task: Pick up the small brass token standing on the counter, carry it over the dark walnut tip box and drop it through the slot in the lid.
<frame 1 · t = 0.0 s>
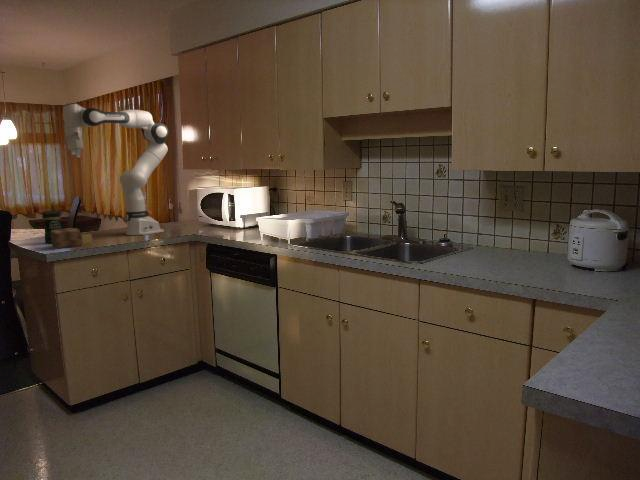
hand: (76, 157, 288), 48 cm above the worktop, tool pointing down, fingers open, 8 cm apart
coffee jar: (54, 242, 292), on the worktop
token: (87, 243, 286), on the worktop
tip box: (67, 246, 277), on the worktop
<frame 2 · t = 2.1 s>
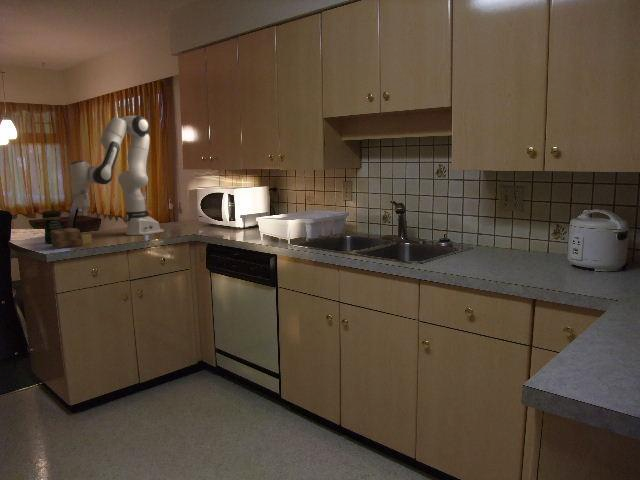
hand: (83, 214, 283), 16 cm above the worktop, tool pointing down, fingers open, 8 cm apart
nothing on the worktop moved.
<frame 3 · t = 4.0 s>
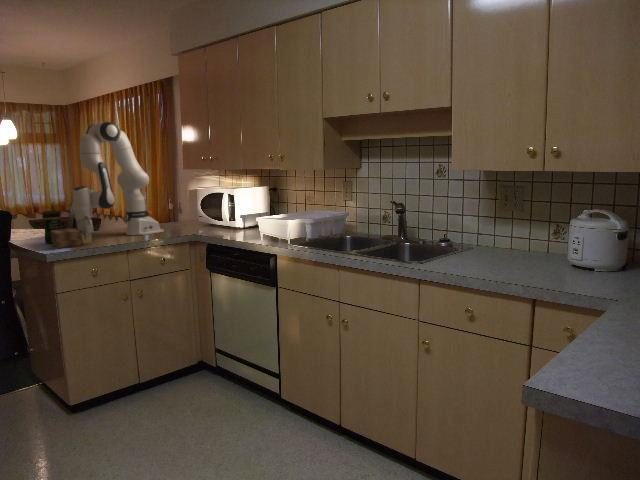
hand: (86, 239, 286), 2 cm above the worktop, tool pointing down, fingers closed on token, 2 cm apart
token: (86, 242, 286), on the worktop, touching gripper
everything else where it was.
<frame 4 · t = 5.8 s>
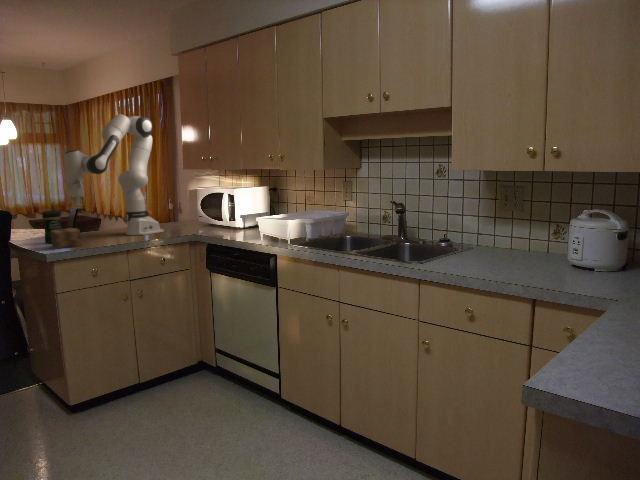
hand: (77, 205, 280), 22 cm above the worktop, tool pointing down, fingers closed on token, 2 cm apart
token: (77, 208, 280), point 20 cm above the worktop, touching gripper
everything else where it was.
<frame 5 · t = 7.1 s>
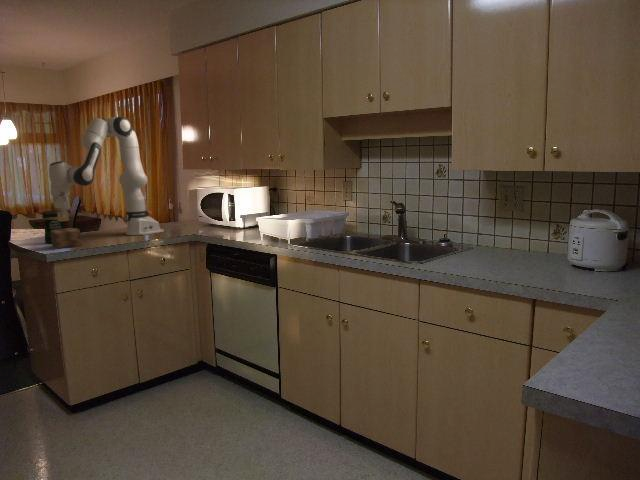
hand: (63, 217, 274), 16 cm above the worktop, tool pointing down, fingers closed on token, 2 cm apart
token: (63, 220, 275), point 14 cm above the worktop, touching gripper
everything else where it was.
when the fingers open (12 cm above the worktop, at t = 7.8 s): token drops 9 cm, resting on tip box.
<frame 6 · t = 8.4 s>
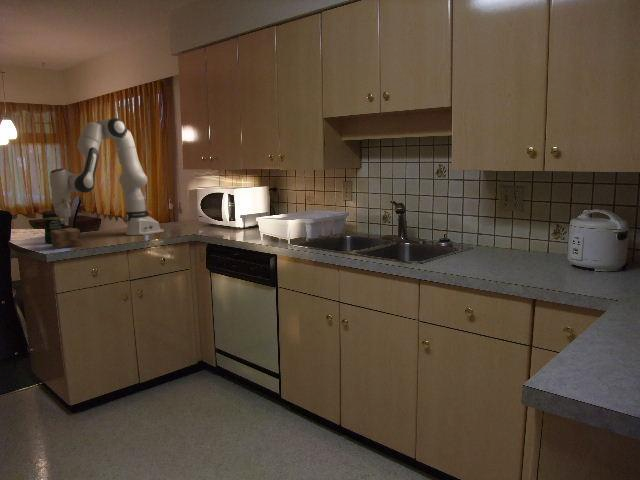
hand: (64, 224, 275), 12 cm above the worktop, tool pointing down, fingers open, 8 cm apart
token: (66, 244, 277), point 1 cm above the worktop, touching tip box
everything else where it was.
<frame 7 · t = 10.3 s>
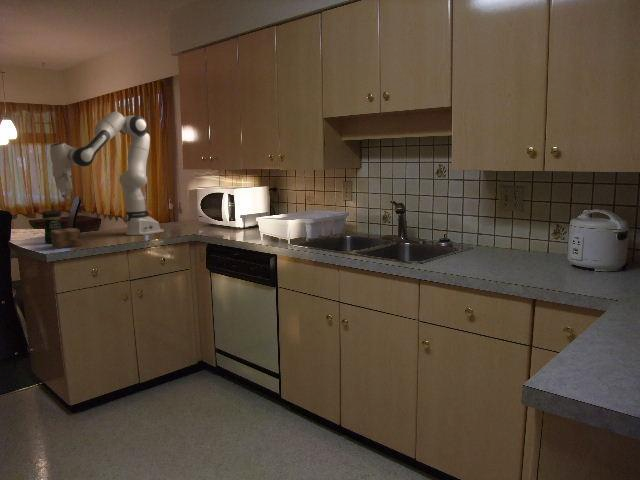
hand: (66, 198, 279), 26 cm above the worktop, tool pointing down, fingers open, 8 cm apart
nothing on the worktop moved.
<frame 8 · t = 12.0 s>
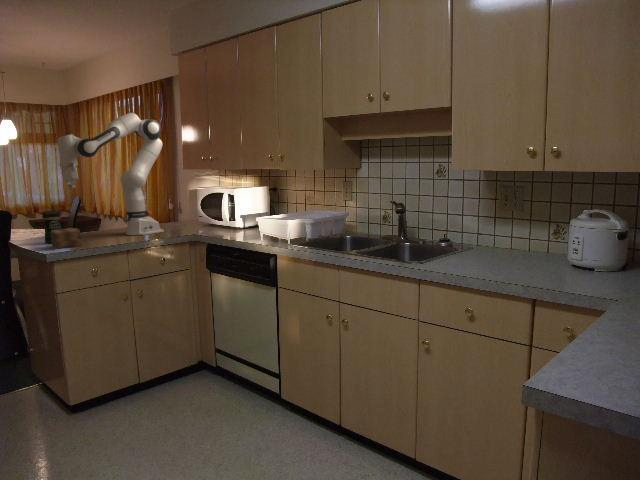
hand: (71, 187, 288), 31 cm above the worktop, tool pointing down, fingers open, 8 cm apart
nothing on the worktop moved.
at the end: token inside the target area on the tip box (0.0 cm from its centre), point 0.8 cm above the tip box's base; the gripper is holding nothing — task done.
